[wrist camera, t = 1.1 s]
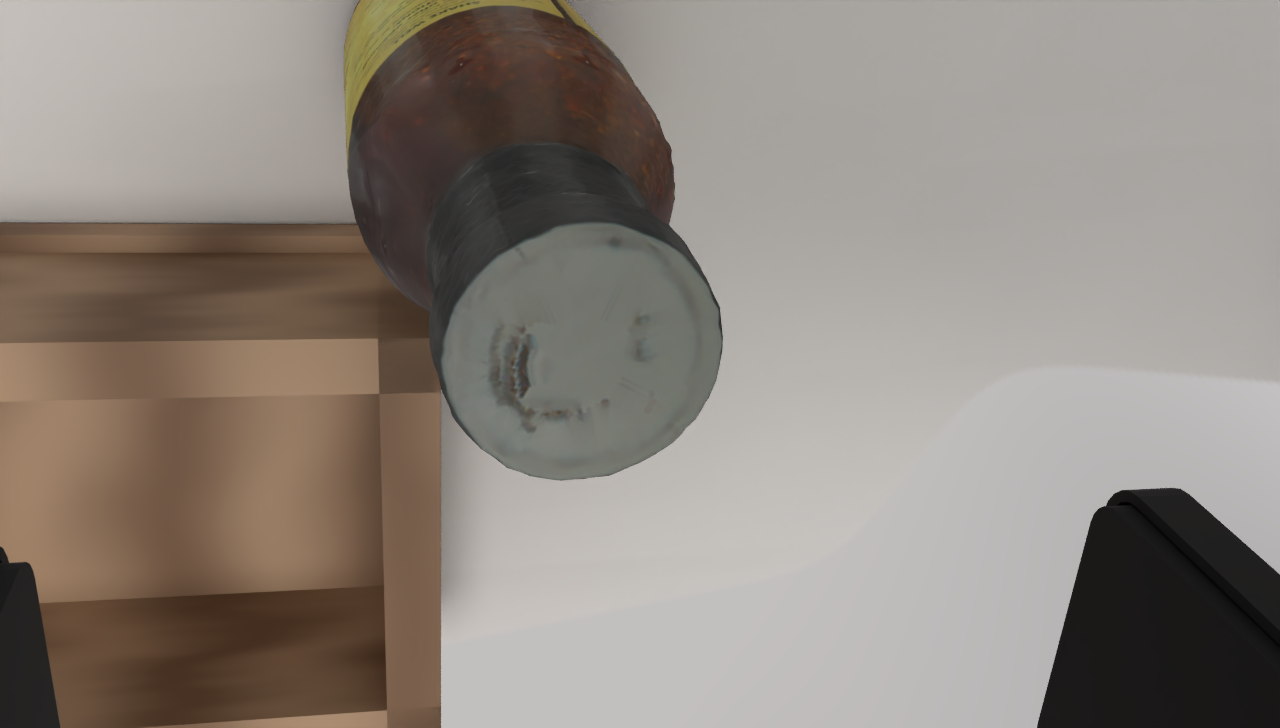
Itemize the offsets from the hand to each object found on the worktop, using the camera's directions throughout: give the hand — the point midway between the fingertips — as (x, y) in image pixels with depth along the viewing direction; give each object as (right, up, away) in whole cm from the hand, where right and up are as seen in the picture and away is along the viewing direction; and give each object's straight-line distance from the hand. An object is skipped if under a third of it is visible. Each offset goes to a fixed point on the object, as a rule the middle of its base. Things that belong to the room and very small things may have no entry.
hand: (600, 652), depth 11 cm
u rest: (-13, 0, +27) cm, 30 cm away
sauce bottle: (-4, +11, +23) cm, 27 cm away
